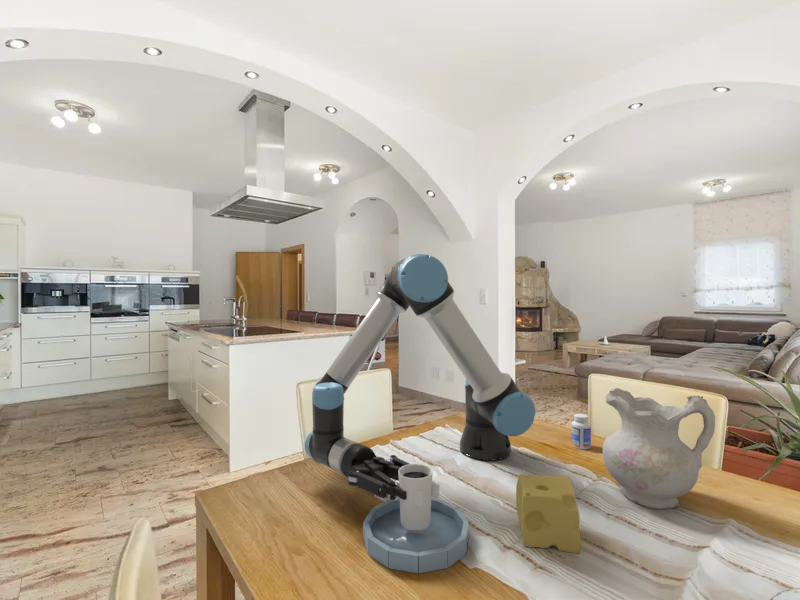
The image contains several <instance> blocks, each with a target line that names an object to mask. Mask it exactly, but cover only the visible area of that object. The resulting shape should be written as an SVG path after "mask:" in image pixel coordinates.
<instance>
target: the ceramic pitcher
mask: <svg viewBox="0 0 800 600" xmlns="http://www.w3.org/2000/svg"><path fill="white" fill-rule="evenodd" d="M686 399H687V402H685V405H684V406H683V407H678V406H675V405H663V404H661V403H658V401H655V400H654V399H653V398H651V397H644V396H643V397H642V396H641V397H635V396H633V394H632V393H631V392H630V391H628V390H624V389H620V388H617V387H616V388H613V389H611V390H609V392H608V393H607V394H606V396H605V403H606V404H607V405H609V406H610V407H613V408H614V409H615V410H616V411H617V412H618V414H619V417H620V419H621V423H620V424H621V425H620V428H619V429H618V430H617V431H616V432H614V433H612V434H610V435H608V436H607V437H606V438H605V440H604V441H603V445H602V458H603V463H604V466H605V468H606V470H607V471H608V473H609V474H610V476H611V477H612V478H613V479H614V480H615V481H616V482H617V483H618V484H617V488H618V487H619V488H620V489H619V488H618V489H619V490H620V492H621V493H622V494H623V495H624V496H625V497H626V498H627V499H628V500H629V501H631V502H632V503H636V504H637V505H640V506H644V507H647V508H649V509H652V510H662V509H663V510H665V509H674V508H677V507H680V506H681V504H680V502H679V500H678V498H679V497H680V498H681V497H683V496H685V495H686V494H688V493H689V492H690V491H692V489H693V488H694V486H695V485H696V483H697V481H698V479H699V471H700V469H701V468H702V466H703V465H702V464H703V463H702V459H703V453H704V451H705V449H707V448H708V446H709V444H710V442H711V439H712V438H713V437H714V434H715V430H716V429H715V428H716V414H715V412H714V410H713V409H712V407H710V405H709V403H708V401H707V399H704V396H700V395H689V396H686ZM698 413H699V414H700V415H701V416H702V421H703V428H702V431H701V432H700V434H699V436H698V438H697V439H696V443H695V445H694V447H693V448H690V447H689V446H688V445H687V444H685V443H684V442H683V441H682V440H681V438H680V436H679V429H680V423H681V421H682V419H684V418H687V417H688V416H691V415H693V414H698Z"/></svg>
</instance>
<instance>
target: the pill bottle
mask: <svg viewBox="0 0 800 600" xmlns="http://www.w3.org/2000/svg"><path fill="white" fill-rule="evenodd" d="M573 419H574V420H573V421H572V422H571V446H572V447H573V448H575V449H578V450H589V449H591V446H592V440H591V439H592V434H591V433H592V429H591V428H592V426H591V425H592V424H591V423H590V422H589V416H588V414H585V413H575V414H574V415H573Z"/></svg>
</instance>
